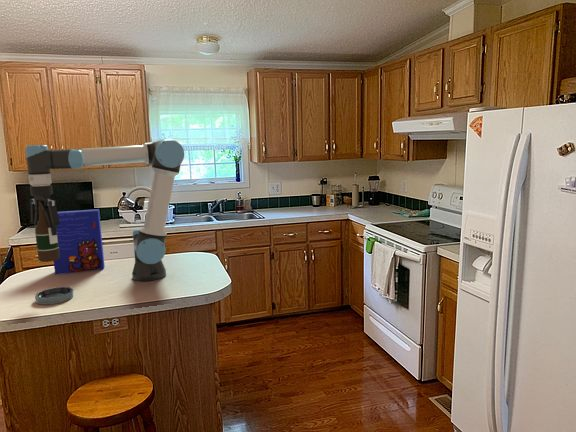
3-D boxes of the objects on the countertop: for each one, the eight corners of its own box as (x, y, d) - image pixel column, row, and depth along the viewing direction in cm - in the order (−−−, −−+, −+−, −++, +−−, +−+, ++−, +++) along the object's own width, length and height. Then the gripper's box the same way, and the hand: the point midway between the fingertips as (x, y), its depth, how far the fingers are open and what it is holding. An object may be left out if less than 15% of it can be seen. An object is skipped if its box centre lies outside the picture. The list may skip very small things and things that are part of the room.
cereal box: (104, 266, 219) (98, 208, 213) (103, 269, 213) (97, 210, 208) (57, 271, 211) (50, 211, 206) (55, 274, 206) (47, 213, 201)
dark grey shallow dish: (80, 293, 178) (79, 287, 178) (58, 305, 165) (57, 298, 165) (51, 292, 180) (51, 286, 180) (28, 304, 168) (27, 297, 167)
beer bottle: (58, 261, 167) (51, 201, 163) (35, 263, 165) (28, 202, 161) (62, 256, 175) (55, 198, 170) (41, 257, 172) (34, 199, 168)
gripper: (15, 185, 166) (22, 241, 170) (47, 187, 157) (54, 247, 160) (34, 183, 173) (41, 237, 177) (66, 185, 163) (72, 242, 167)
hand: (47, 242), depth 169 cm, fingers closed on beer bottle, 8 cm apart
